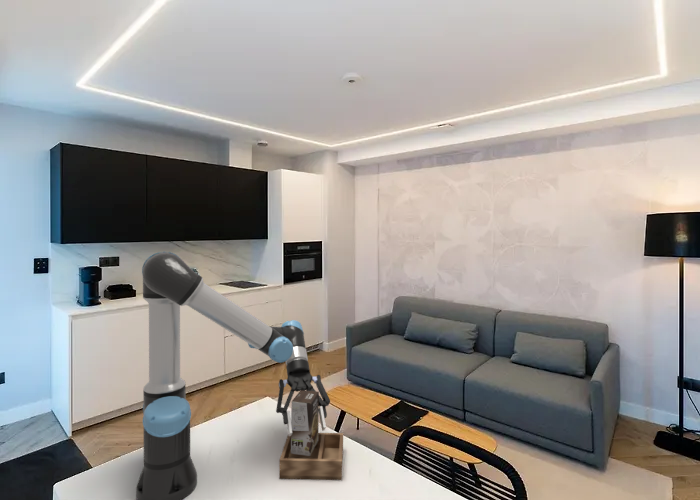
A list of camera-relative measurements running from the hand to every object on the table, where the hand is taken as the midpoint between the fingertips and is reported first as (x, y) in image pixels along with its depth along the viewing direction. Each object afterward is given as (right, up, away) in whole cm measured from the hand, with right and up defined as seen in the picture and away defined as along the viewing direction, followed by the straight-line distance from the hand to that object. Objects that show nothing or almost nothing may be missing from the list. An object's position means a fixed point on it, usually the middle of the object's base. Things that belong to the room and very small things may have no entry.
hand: (307, 431), depth 115 cm
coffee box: (-1, -6, +3) cm, 7 cm away
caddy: (+1, -11, +3) cm, 12 cm away
